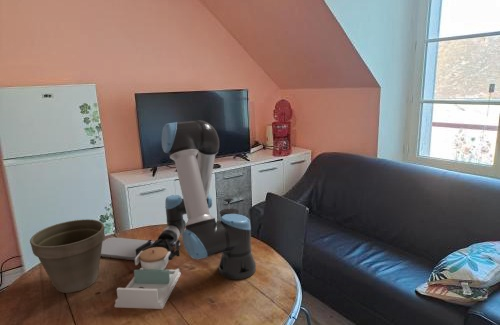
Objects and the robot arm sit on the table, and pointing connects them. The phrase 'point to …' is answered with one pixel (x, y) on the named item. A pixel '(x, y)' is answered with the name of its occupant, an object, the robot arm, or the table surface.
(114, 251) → the tablet
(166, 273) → the pusher plate
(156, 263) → the lidded jar
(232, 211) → the french press
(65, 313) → the table surface
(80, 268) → the plant pot
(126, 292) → the pusher lane
